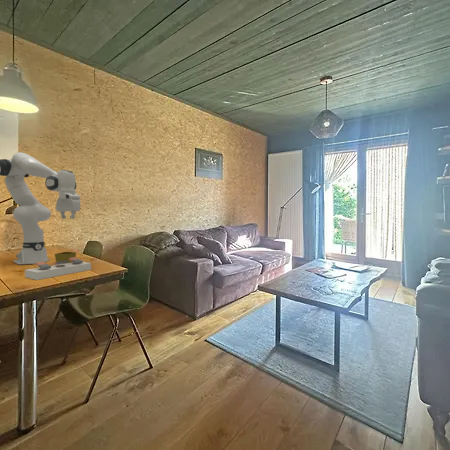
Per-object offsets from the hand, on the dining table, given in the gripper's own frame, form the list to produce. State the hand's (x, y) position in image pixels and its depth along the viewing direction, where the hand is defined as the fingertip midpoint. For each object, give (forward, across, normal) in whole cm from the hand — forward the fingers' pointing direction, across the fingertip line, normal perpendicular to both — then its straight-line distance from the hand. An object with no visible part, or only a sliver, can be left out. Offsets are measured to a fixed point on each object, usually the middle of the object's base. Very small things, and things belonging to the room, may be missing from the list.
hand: (67, 218), depth 163 cm
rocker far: (+25, +9, -1) cm, 27 cm away
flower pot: (+31, -7, +2) cm, 32 cm away
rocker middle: (+25, +9, -10) cm, 28 cm away
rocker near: (+25, +9, -19) cm, 33 cm away
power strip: (+31, +9, -10) cm, 34 cm away
